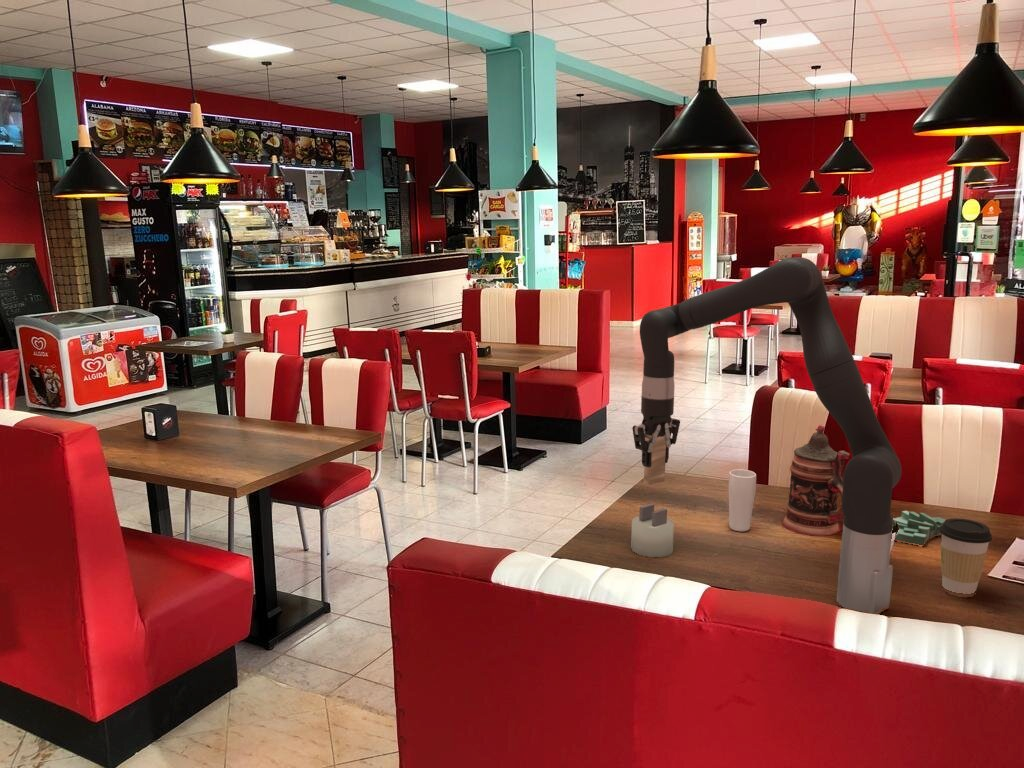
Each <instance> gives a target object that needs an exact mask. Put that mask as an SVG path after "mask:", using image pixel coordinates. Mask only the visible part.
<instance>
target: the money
mask: <svg viewBox="0 0 1024 768" xmlns="http://www.w3.org/2000/svg"><path fill="white" fill-rule="evenodd" d="M893 520H894V521H895V522H897V524H898V528H899V530H898V532H897V534H896V538H895V540H900V541H905V542H909V543H915V544H919V545H924V543H925V542H926V540H928V539H929V538H930V537H931V536H934V535H937V534H939V533H940V531H939V529H940V527H941V525H943V523H944V521H945V520H946V519H945V518H942V517H939V516H938V517H933V516H930V515H928V514H927V513H925V512H919V514H918V513H917V512H915V511H908V510H903V511H901V516H897V517H893ZM928 541H929V540H928ZM926 543H927V542H926ZM926 543H925V544H926ZM924 546H925V545H924Z"/></svg>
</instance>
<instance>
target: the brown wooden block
mask: <svg viewBox="0 0 1024 768" xmlns="http://www.w3.org/2000/svg"><path fill="white" fill-rule="evenodd" d="M645 437H646V438H649V439H651V438H652V436H651V435H647V434H646V435H645ZM648 443H649V442H648V441H646V446H647V447H648ZM651 452H652V460H651V467H645V466H643V467H644V468H643V472H644V473H643V483H644V484H646V485H648V486H650V485H651V486H652V485H654V484H657V483H658V484H659V483H662V482H665V480H666V463H665V455H666V442H665V435H664V436H663V437H660V436H659V437H657V439H656V442H655V443H654V444H653V447H652V451H651Z"/></svg>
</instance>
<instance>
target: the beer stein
mask: <svg viewBox="0 0 1024 768" xmlns="http://www.w3.org/2000/svg"><path fill="white" fill-rule="evenodd" d="M825 430H826V427H825V426H823V425H822V424H819V425H818V427H817V428H815V431H816V432H813V433H812V435H811V436H810V438H809V441H808V443H805V444H804V445H802V446H799V447H796V448H795V449H794V451H793V458H792V461H791V465H790V467H789V470H790V480H789V481H790V482H789V492H788V502H787V504H786V514H785V517H784V519H782V521H781V523H782V524H781V525H782V526H783V527H784V528H786V529H788V530H790V531H792V532H795V533H798V534H802V535H807V536H813V537H815V536H816V537H823V536H824V537H826V536H831V535H835V534H838V533H840V531H842V530H843V527H842V524H840V523H839V522H838V520H840V521H842V520H844V516H843V512H842V504H841V506H840V508H838V504H839V495H840V498H841V502H842V491H843V477H844V469H845V468H846V465H845V459H846V460H848V459H851V458H850V456H851V453H849V452H847V451H845V450H839V451H838V452H837V451H835V450H834V449H833V448H832V447H831V446H830V445H829V438H828V436H827V435H826V434H825V433H824V432H825Z"/></svg>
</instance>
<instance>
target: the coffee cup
mask: <svg viewBox="0 0 1024 768" xmlns="http://www.w3.org/2000/svg"><path fill="white" fill-rule="evenodd" d="M939 531H940V533H941V534H942V535H941V542H940V564H941V565H940V569H941V570H940V573H941V577H942V578H941V580H942V581H941V583H942V584H941V585H942V586H943V587H944V588H945V589H947V590H949V591H952V592H956V593H963V594H971V593H974V592H975V591H976V592H977V589H978V584H979V581H980V579H981V576H982V573H983V570H984V564H985V561H986V558H987V553H988V548H989V544H990V542H991V541H992V540H993V536H992V533H991V531H990V527H989V526H987V525H986V524H984V523H982V522H979V521H976V520H972V519H967V518H957V517H956V518H948V519H945V521H944V523H943V525H941V527H940V529H939Z"/></svg>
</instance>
